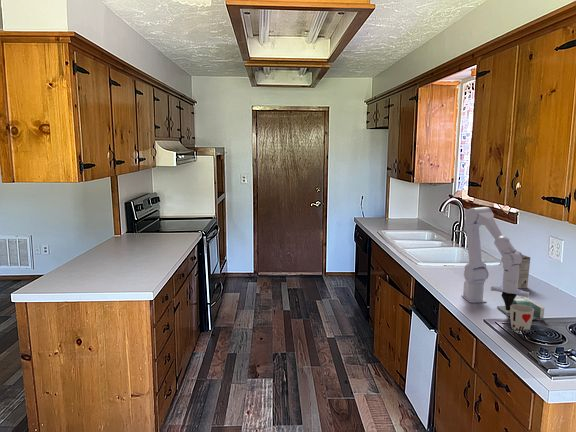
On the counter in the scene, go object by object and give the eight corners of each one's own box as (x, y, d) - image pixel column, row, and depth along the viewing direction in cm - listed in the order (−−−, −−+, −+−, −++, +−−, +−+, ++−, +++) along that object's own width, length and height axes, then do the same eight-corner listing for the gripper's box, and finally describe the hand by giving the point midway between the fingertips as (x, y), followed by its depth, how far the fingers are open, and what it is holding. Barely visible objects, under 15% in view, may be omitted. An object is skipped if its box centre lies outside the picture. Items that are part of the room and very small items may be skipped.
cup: (507, 333, 166) (509, 309, 165) (509, 326, 173) (511, 302, 171) (530, 338, 162) (533, 313, 160) (532, 330, 168) (534, 306, 167)
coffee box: (504, 283, 225) (506, 253, 222) (514, 282, 226) (517, 252, 223) (517, 288, 216) (520, 257, 213) (528, 287, 217) (530, 256, 215)
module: (509, 310, 187) (510, 298, 186) (522, 309, 187) (523, 297, 187) (516, 313, 183) (517, 301, 182) (528, 312, 184) (529, 301, 183)
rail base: (497, 308, 191) (498, 296, 190) (523, 307, 192) (524, 295, 191) (515, 321, 177) (516, 308, 176) (543, 320, 178) (544, 307, 177)
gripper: (531, 280, 180) (528, 310, 182) (494, 273, 189) (492, 303, 192) (528, 284, 175) (525, 316, 177) (490, 277, 184) (488, 307, 186)
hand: (508, 309), depth 184 cm, fingers closed
